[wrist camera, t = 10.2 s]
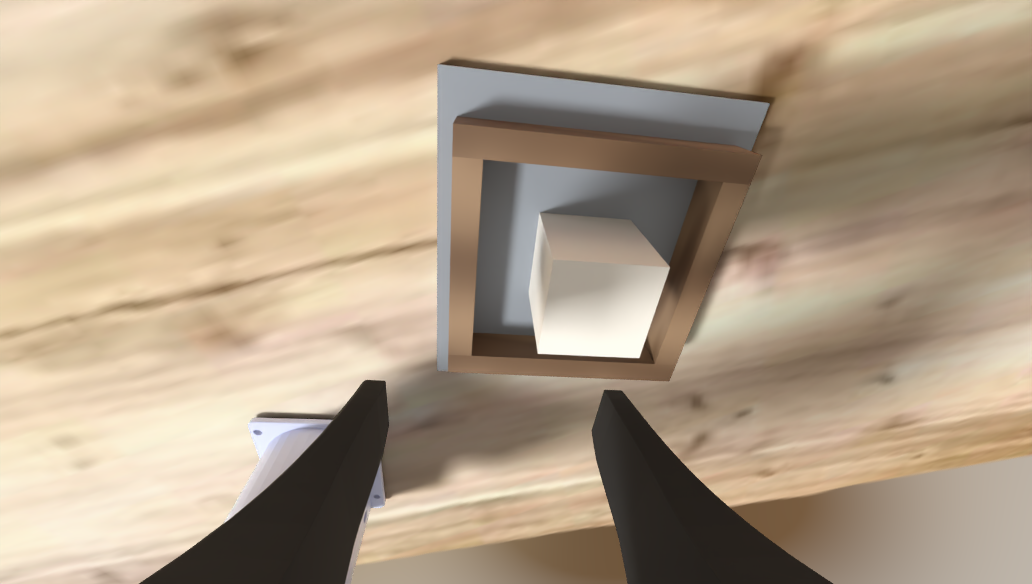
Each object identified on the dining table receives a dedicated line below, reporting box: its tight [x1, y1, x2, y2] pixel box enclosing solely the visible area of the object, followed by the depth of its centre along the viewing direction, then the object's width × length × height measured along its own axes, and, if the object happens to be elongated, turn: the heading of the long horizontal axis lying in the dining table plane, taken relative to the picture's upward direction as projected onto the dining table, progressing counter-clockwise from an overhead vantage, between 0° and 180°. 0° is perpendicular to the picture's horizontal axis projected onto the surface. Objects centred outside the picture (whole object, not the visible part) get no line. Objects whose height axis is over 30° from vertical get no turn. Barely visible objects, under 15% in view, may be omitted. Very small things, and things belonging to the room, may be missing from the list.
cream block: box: [529, 213, 670, 358], centre depth 18 cm, size 4×4×5 cm
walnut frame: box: [448, 116, 762, 381], centre depth 19 cm, size 12×12×2 cm
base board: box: [437, 64, 770, 371], centre depth 20 cm, size 16×14×1 cm
